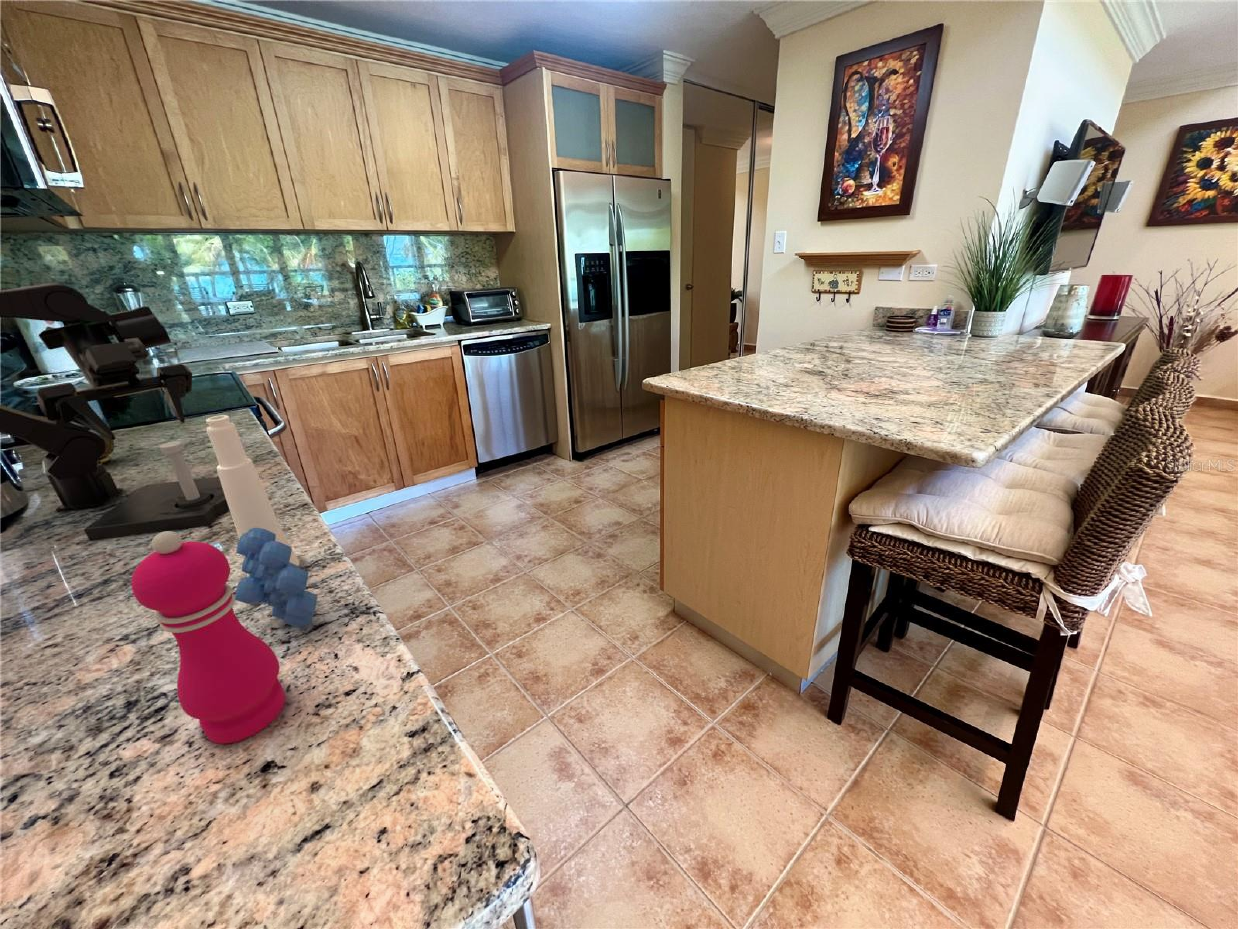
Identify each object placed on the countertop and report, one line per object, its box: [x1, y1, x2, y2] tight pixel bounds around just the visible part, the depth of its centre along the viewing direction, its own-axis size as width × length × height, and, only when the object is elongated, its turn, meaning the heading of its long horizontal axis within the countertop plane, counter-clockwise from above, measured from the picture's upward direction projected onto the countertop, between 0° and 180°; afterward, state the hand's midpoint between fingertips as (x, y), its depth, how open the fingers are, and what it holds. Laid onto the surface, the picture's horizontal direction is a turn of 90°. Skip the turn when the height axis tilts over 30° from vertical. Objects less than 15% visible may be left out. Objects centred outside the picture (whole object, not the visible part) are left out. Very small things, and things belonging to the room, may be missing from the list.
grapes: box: [234, 528, 318, 629], centre depth 55 cm, size 12×7×12 cm, turn 58°
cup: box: [97, 422, 115, 466], centre depth 102 cm, size 8×7×8 cm
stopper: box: [159, 440, 212, 508], centre depth 81 cm, size 4×4×12 cm
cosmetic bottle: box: [205, 414, 300, 577], centre depth 63 cm, size 6×6×22 cm
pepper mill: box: [130, 530, 286, 744], centre depth 42 cm, size 7×7×20 cm
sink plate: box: [83, 476, 230, 541], centre depth 84 cm, size 17×16×2 cm
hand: (150, 429), depth 82 cm, fingers open, 9 cm apart
